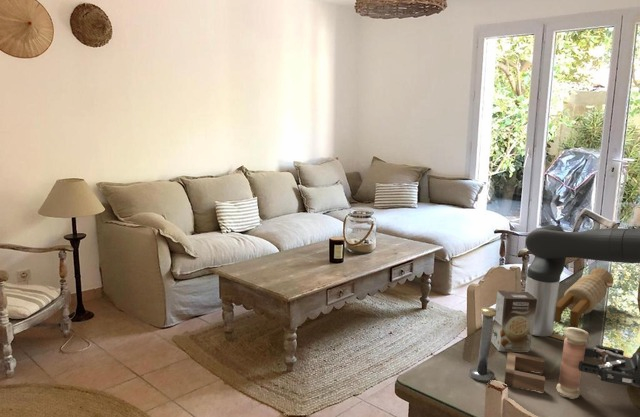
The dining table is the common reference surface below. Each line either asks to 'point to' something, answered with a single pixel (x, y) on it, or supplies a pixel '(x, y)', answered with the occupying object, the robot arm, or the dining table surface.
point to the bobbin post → (484, 348)
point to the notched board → (523, 378)
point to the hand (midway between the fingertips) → (577, 357)
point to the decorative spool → (584, 295)
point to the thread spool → (572, 361)
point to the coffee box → (513, 321)
